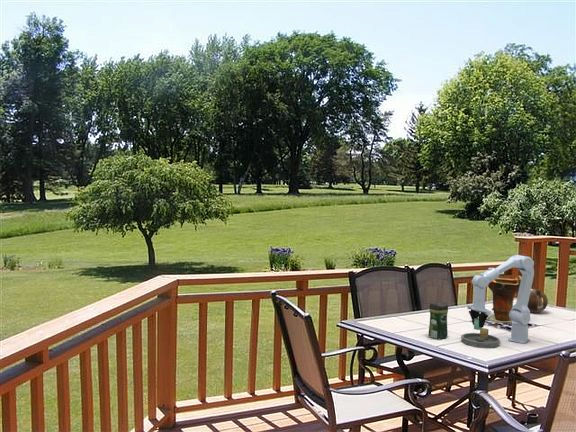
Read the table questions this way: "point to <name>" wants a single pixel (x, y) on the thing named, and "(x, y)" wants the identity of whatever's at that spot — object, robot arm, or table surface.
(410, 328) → the table surface
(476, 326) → the teal cylinder
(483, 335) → the tan wooden cylinder
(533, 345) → the table surface
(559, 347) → the table surface
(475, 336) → the ring tray
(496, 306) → the decorative vase
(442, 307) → the coffee jar
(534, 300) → the wooden sphere
